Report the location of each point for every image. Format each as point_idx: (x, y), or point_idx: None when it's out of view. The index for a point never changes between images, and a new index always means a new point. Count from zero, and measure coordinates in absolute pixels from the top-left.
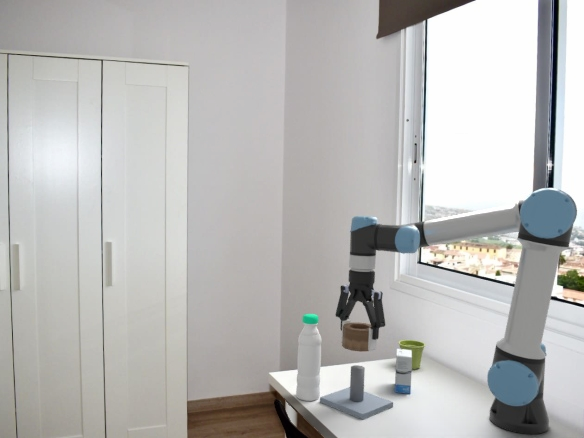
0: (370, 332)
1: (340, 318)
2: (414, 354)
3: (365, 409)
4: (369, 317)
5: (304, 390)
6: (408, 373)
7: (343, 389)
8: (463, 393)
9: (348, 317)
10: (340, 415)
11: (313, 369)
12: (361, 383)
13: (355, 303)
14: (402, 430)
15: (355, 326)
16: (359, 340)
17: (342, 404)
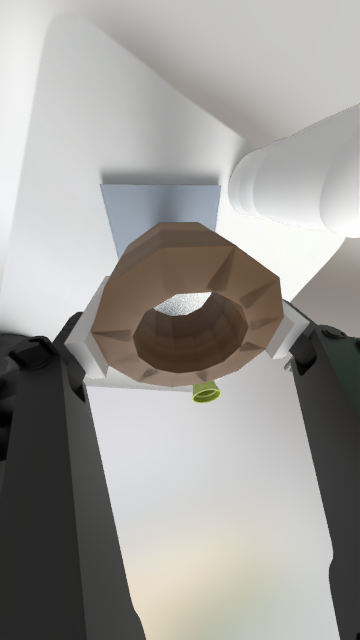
0: (80, 324)
1: (337, 330)
2: (196, 385)
3: (119, 214)
4: (50, 432)
5: (259, 150)
6: None
7: None
8: None
9: (292, 367)
10: (144, 158)
11: (272, 160)
12: None
13: (329, 526)
14: (26, 210)
15: (227, 343)
16: (124, 256)
17: (164, 193)
